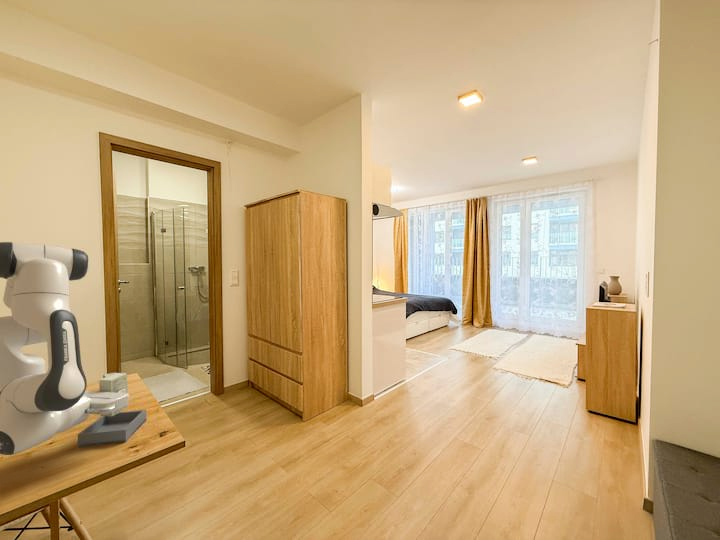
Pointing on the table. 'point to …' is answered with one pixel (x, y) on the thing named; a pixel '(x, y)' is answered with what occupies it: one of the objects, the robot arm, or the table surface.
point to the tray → (112, 428)
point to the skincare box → (114, 387)
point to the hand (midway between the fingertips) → (116, 390)
